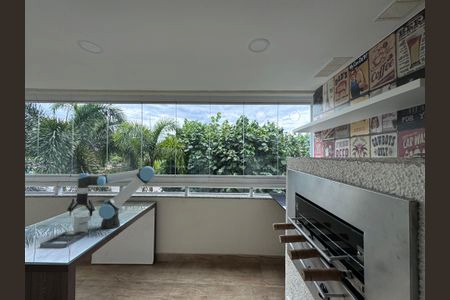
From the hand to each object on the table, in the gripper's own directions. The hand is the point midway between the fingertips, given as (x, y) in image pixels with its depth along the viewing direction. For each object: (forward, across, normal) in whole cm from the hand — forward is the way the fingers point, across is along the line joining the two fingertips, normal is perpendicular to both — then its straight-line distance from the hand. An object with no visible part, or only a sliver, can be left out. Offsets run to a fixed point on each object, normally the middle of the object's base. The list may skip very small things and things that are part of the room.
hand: (80, 220), depth 185 cm
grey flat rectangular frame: (+10, -2, +20) cm, 22 cm away
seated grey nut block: (+10, -2, +13) cm, 17 cm away
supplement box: (+10, 0, 0) cm, 10 cm away
